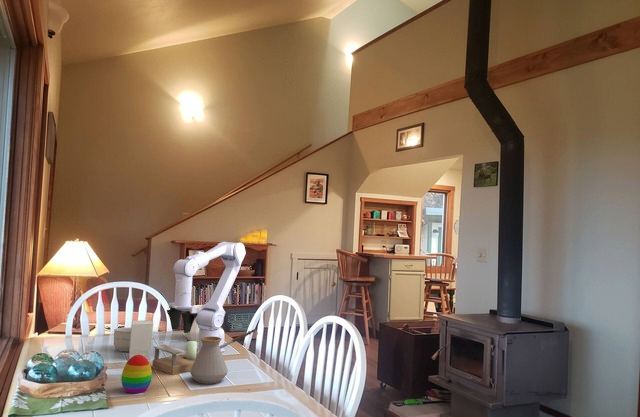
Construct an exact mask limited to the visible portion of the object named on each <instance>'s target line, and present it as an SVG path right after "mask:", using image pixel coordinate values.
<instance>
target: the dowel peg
mask: <svg viewBox="0 0 640 417" xmlns="http://www.w3.org/2000/svg"><path fill="white" fill-rule="evenodd" d="M185 348H186V350H185V354H186V359H187V360H194V359H196V351H197V349H198V341H191V340H188V341H186V347H185Z"/></svg>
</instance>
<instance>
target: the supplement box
mask: <svg viewBox="0 0 640 417" xmlns="http://www.w3.org/2000/svg"><path fill="white" fill-rule="evenodd" d="M130 328H131V336H130V349H129V351H128V360H129V359H130V358H132V357H133V356H135V355H142V356H144V357H145V358H146V359H147V360H148V361H149V360H151V359H152V358H151V357H152V345H153V344H152V343H153V333H154V332H153V331H154V321H153V320H152V319H151V320H150V319H149V320H148V319H147V320H131V326H130Z"/></svg>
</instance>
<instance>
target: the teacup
mask: <svg viewBox="0 0 640 417" xmlns="http://www.w3.org/2000/svg"><path fill="white" fill-rule="evenodd" d="M113 331H114V332H113V346H114V348H116V350H117V351H119V352H129V349H130V336H131V327H119V328H118V327H117V328H115V329H114V330H113Z"/></svg>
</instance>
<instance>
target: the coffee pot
mask: <svg viewBox="0 0 640 417" xmlns="http://www.w3.org/2000/svg"><path fill="white" fill-rule="evenodd" d="M253 333H255V334H254V335H256V336H258V335H259V334H258V331H257V329H256V328H254V329H252V330H248V331H247V332H245V333H242V334H240V335H239V336H237V337H235V338H233V339H231V340H230V341H228V342H224V344H223V345H221V346H219V343H220V341H221V338H220V337H202V338H201V341H202V347H201V349H200V351H199V354H198V356H197V358H196V360H195V362H194V364H193V366H192V368H191V370H190V372H189V373H190V376H191V377H192V378H193V379H194V380H195V381H196V383H199V384H203V385H204V384H207V385H209V384H210V385H212V384H218V383H220V382H221V381H222V380H223V379H224V378H225V377H226V376H227V375H228V371H229V370H228V367H227V364H226V361H225V358H224V355H223V352H221V348H223V347H224V348H225V347H227V346H228V345H231V344H233V343H235V342H238V341H240V340H242V339H244V338H246V337H247V336H250V335H252V334H253Z"/></svg>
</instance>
